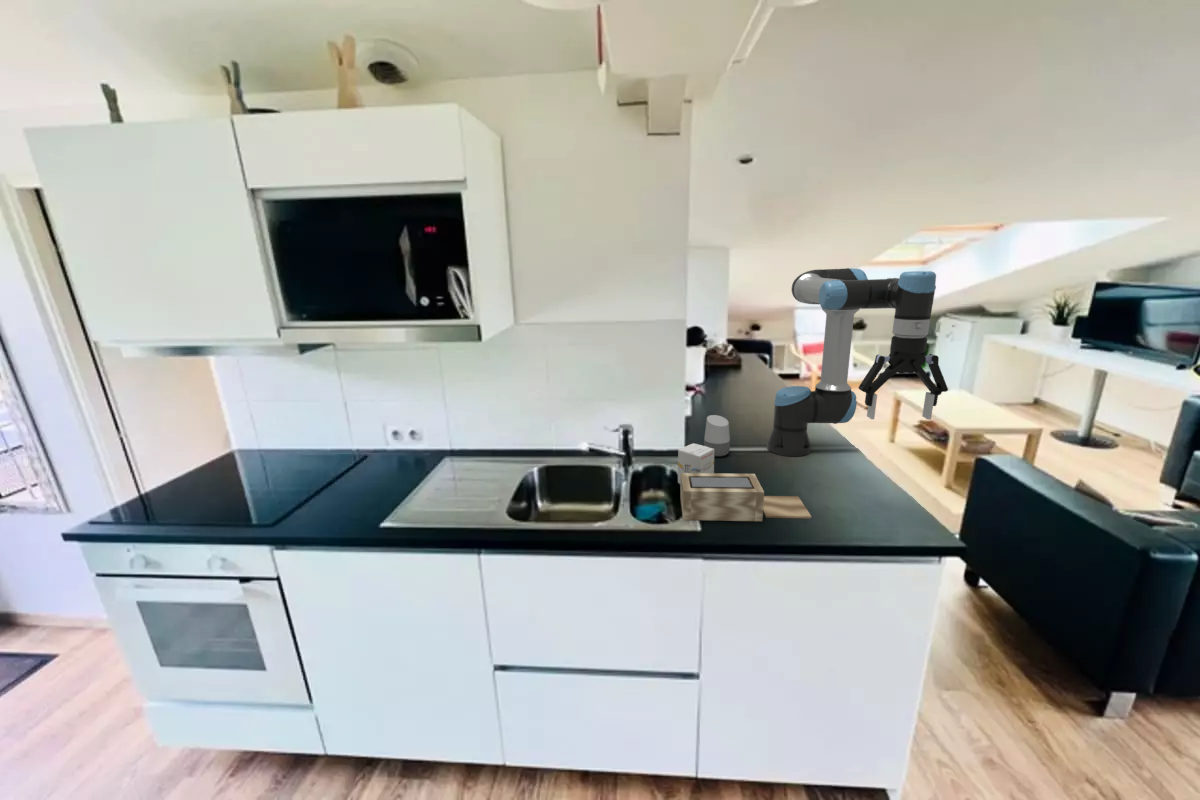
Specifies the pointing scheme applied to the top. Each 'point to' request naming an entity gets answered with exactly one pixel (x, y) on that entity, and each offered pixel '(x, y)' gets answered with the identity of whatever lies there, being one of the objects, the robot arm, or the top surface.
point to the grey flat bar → (720, 483)
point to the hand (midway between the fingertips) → (898, 418)
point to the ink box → (695, 460)
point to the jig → (721, 499)
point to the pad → (784, 507)
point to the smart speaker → (717, 435)
